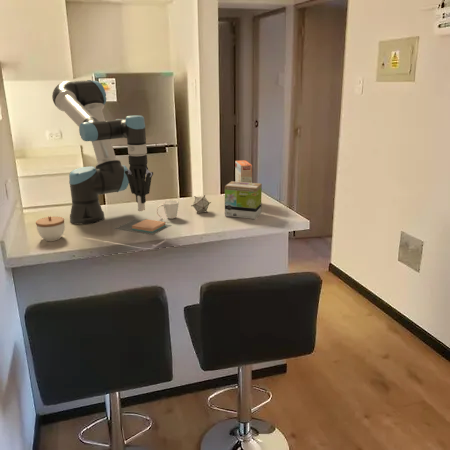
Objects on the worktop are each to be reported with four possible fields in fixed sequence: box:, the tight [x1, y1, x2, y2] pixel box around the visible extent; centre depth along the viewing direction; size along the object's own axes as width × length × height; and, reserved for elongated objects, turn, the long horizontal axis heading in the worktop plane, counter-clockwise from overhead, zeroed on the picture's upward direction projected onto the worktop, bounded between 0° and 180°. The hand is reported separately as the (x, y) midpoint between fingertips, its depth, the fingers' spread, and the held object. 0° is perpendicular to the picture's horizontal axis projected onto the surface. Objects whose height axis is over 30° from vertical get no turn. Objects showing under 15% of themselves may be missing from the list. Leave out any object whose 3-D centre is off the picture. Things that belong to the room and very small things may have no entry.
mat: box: [114, 219, 172, 236], centre depth 202 cm, size 20×14×1 cm
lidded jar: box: [35, 215, 66, 242], centre depth 190 cm, size 11×11×9 cm
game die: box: [190, 194, 212, 214], centre depth 223 cm, size 9×8×10 cm
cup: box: [156, 199, 180, 220], centre depth 213 cm, size 7×10×8 cm
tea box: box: [224, 180, 263, 220], centre depth 217 cm, size 15×10×15 cm, turn 71°
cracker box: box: [234, 159, 253, 183], centre depth 234 cm, size 14×6×21 cm, turn 10°
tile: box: [132, 218, 166, 233], centre depth 201 cm, size 2×10×10 cm
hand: (141, 210), depth 200 cm, fingers closed
